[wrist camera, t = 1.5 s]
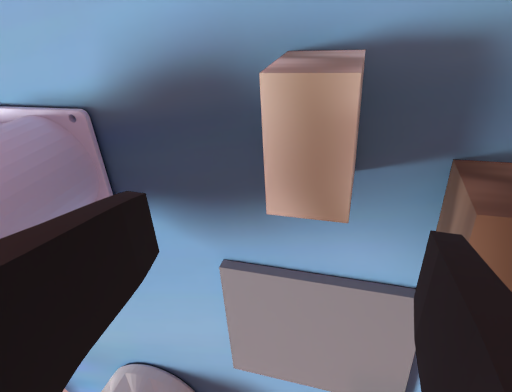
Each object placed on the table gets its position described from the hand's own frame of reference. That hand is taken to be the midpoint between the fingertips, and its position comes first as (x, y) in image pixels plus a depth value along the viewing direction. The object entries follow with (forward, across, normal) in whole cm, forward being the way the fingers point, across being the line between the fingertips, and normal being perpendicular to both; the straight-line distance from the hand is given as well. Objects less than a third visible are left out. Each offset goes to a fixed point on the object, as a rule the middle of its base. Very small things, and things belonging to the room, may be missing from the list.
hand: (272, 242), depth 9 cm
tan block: (+11, 0, 0) cm, 11 cm away
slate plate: (+10, 0, +16) cm, 19 cm away
